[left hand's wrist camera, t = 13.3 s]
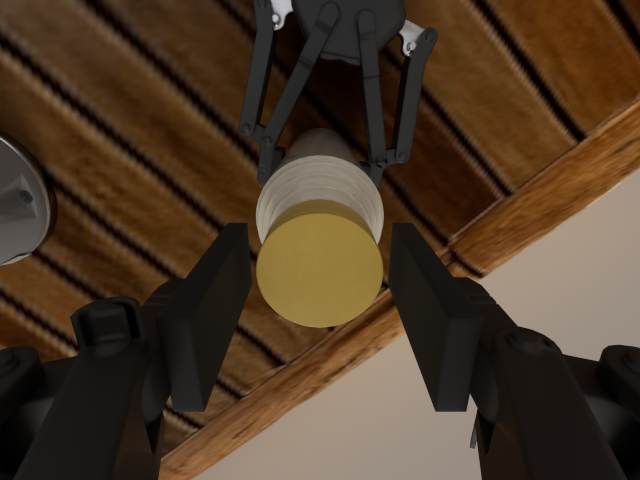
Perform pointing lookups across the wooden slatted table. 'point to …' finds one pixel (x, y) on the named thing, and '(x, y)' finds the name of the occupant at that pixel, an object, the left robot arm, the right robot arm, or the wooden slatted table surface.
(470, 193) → the wooden slatted table surface
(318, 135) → the bottle
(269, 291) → the cap
